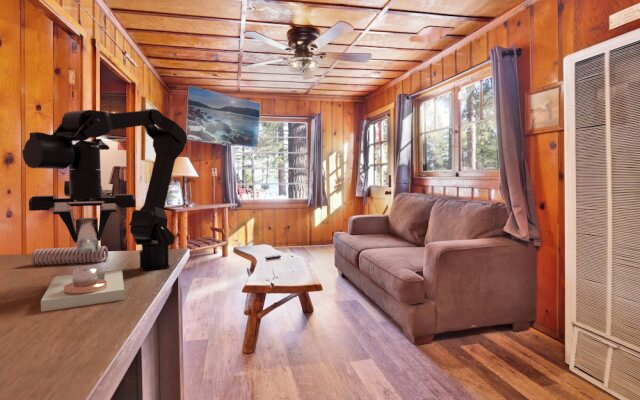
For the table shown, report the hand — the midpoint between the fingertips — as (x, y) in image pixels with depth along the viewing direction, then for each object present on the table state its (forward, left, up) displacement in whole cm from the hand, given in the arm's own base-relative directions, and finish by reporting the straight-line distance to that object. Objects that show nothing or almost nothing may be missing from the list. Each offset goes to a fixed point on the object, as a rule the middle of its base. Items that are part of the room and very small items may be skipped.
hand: (87, 241), depth 77 cm
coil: (+6, -29, -11) cm, 31 cm away
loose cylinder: (0, 0, -2) cm, 2 cm away
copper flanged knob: (0, +9, -8) cm, 12 cm away
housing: (0, +4, -10) cm, 11 cm away
